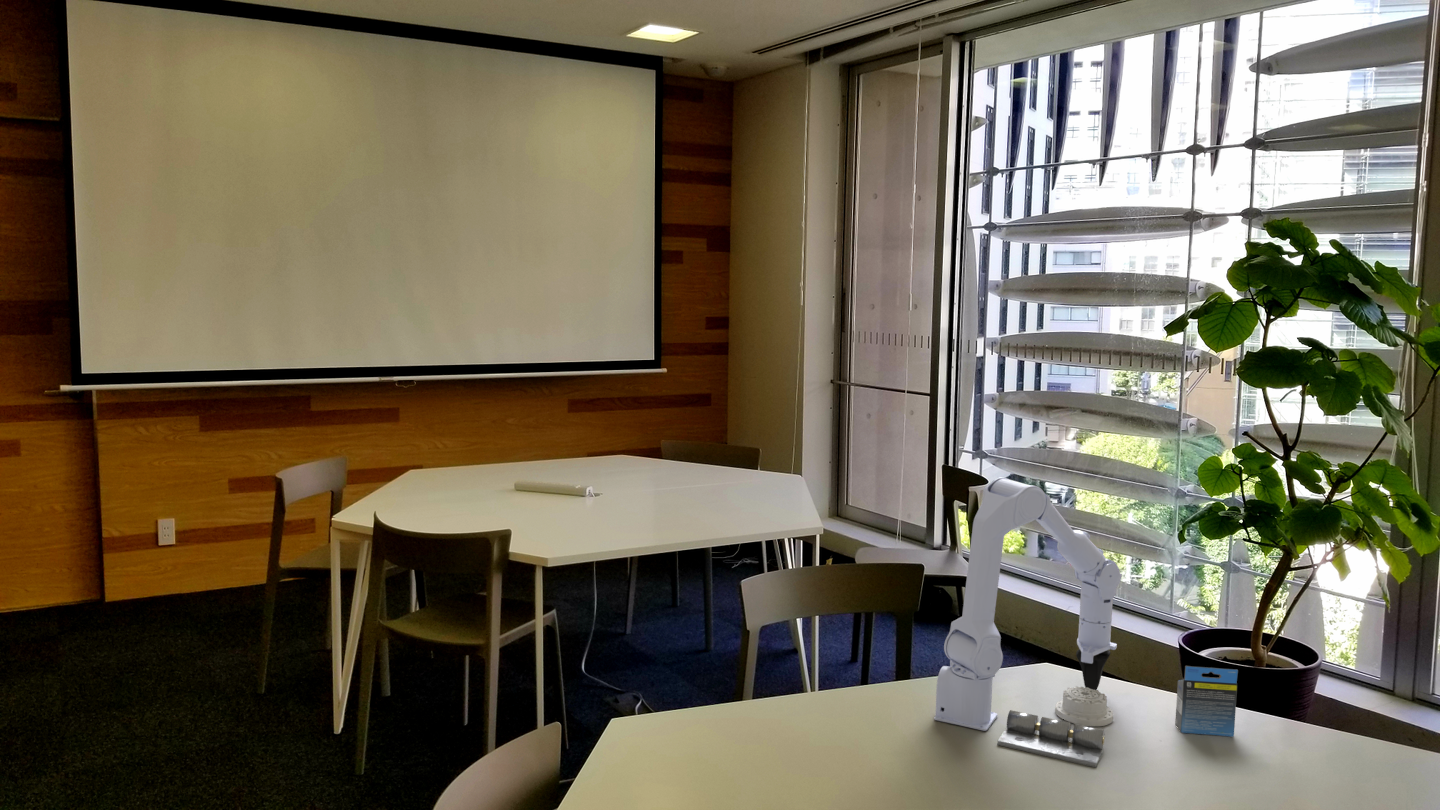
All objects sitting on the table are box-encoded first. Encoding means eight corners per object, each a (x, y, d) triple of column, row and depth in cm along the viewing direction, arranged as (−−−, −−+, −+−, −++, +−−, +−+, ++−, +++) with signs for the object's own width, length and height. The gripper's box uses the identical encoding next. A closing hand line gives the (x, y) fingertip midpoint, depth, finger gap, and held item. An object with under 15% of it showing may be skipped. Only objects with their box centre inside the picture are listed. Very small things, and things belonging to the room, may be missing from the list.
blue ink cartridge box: (1227, 728, 183) (1232, 661, 182) (1234, 738, 179) (1239, 669, 178) (1174, 724, 184) (1178, 657, 183) (1180, 733, 181) (1184, 665, 179)
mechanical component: (1058, 725, 184) (1117, 730, 182) (1060, 701, 183) (1118, 706, 181) (1052, 703, 194) (1107, 708, 192) (1053, 681, 193) (1109, 685, 191)
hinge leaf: (997, 745, 175) (998, 724, 174) (1010, 726, 182) (1011, 706, 182) (1096, 767, 167) (1097, 746, 167) (1105, 747, 175) (1106, 726, 174)
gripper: (1111, 633, 186) (1107, 705, 187) (1123, 612, 198) (1119, 680, 200) (1071, 626, 189) (1067, 697, 191) (1085, 606, 202) (1081, 672, 203)
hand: (1091, 688), depth 196 cm, fingers closed
